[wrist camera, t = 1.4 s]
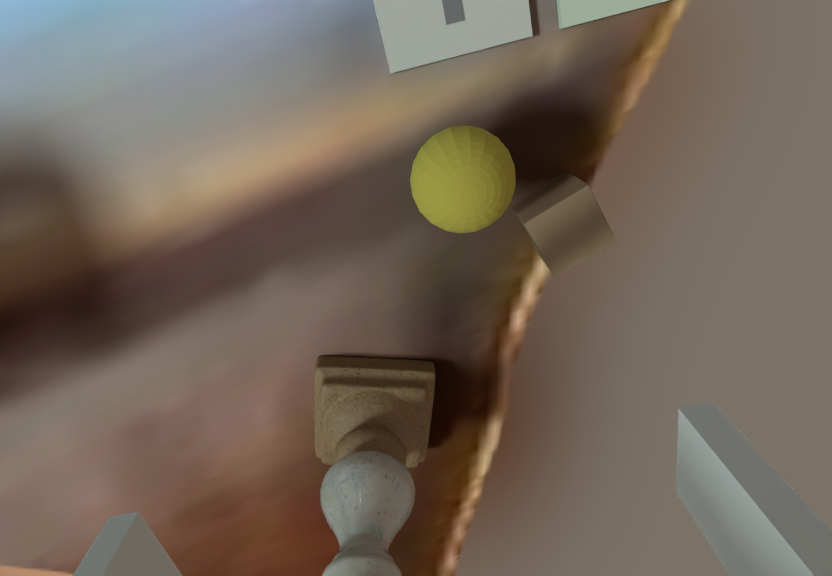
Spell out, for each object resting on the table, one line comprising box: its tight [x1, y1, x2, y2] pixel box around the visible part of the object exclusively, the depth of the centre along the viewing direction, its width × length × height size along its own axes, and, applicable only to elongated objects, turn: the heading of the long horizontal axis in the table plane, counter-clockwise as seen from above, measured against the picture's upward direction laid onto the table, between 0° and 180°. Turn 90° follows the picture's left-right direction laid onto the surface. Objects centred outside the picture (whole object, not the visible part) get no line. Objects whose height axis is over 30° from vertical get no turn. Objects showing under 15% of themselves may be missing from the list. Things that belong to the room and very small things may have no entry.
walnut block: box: [510, 170, 617, 277], centre depth 36 cm, size 5×5×5 cm
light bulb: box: [410, 125, 516, 233], centre depth 32 cm, size 7×7×10 cm
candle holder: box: [314, 356, 435, 576], centre depth 35 cm, size 11×11×24 cm
